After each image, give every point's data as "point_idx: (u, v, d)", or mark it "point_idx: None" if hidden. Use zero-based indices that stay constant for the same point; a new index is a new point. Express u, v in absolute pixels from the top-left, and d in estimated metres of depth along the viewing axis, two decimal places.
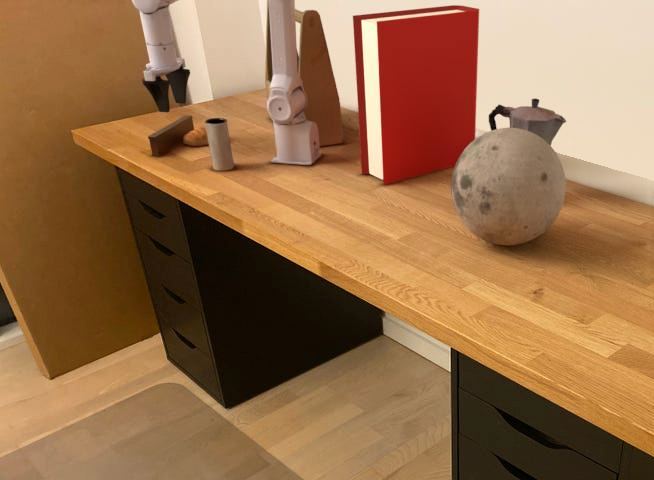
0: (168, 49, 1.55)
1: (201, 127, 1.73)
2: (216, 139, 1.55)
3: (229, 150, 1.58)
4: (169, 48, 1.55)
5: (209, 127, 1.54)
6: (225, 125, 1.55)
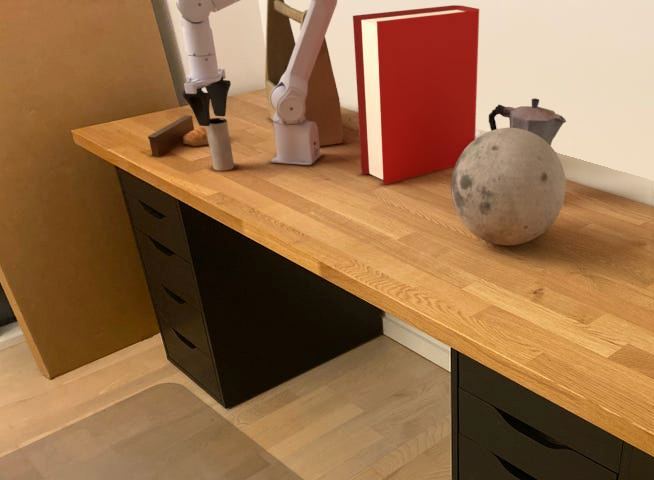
0: (210, 60, 1.47)
1: (201, 127, 1.73)
2: (216, 139, 1.55)
3: (229, 150, 1.58)
4: (211, 59, 1.47)
5: (209, 127, 1.54)
6: (225, 125, 1.55)
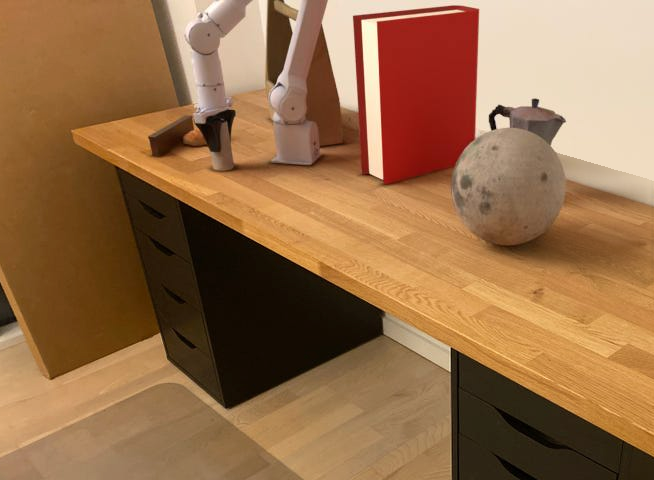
0: (218, 90, 1.50)
1: None
2: None
3: (229, 150, 1.58)
4: (219, 89, 1.50)
5: None
6: (225, 125, 1.55)
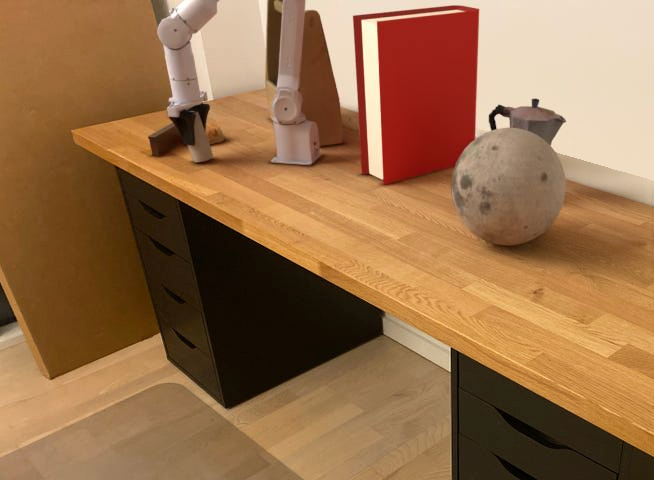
0: (192, 84, 1.53)
1: None
2: None
3: (205, 140, 1.61)
4: (193, 83, 1.53)
5: None
6: (196, 115, 1.58)
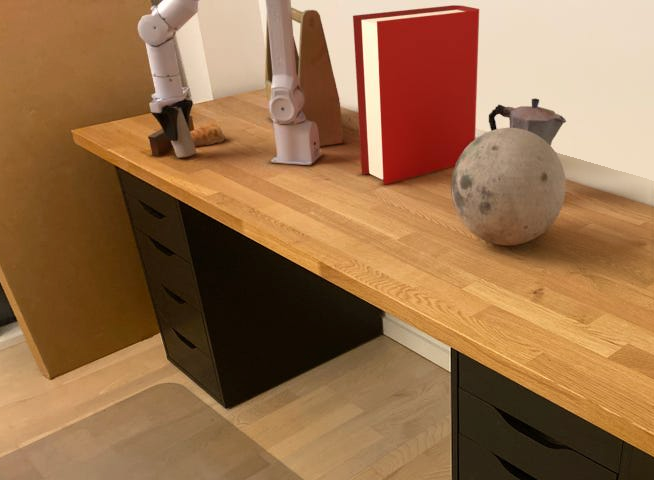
0: (174, 80, 1.56)
1: (201, 127, 1.73)
2: None
3: (188, 136, 1.63)
4: (175, 79, 1.56)
5: None
6: (179, 111, 1.60)
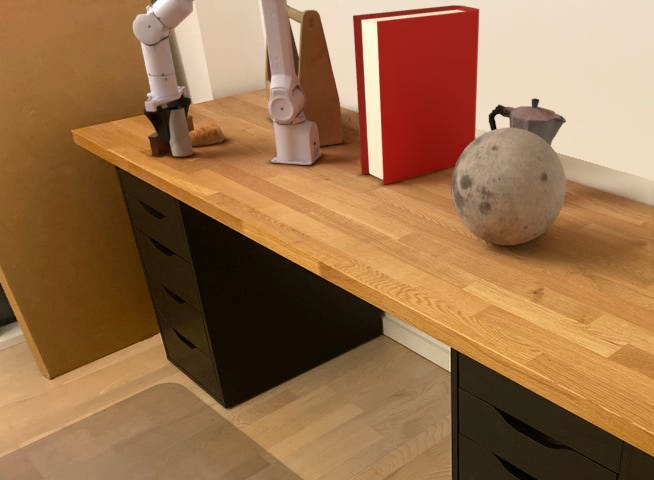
0: (169, 79, 1.56)
1: (201, 127, 1.73)
2: (173, 125, 1.61)
3: (186, 136, 1.64)
4: (170, 78, 1.56)
5: None
6: (181, 111, 1.61)
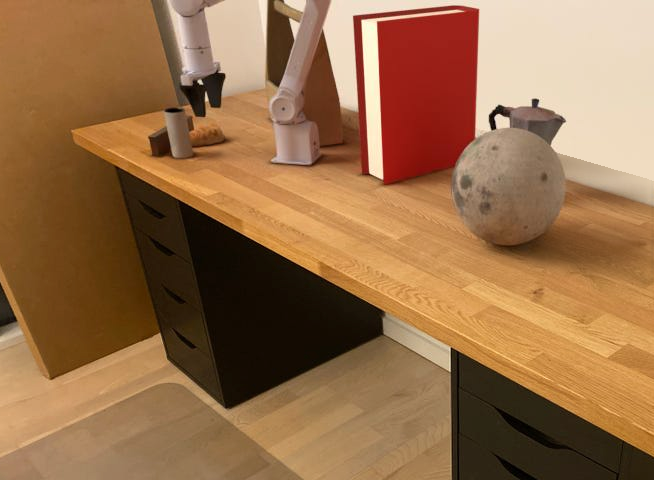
0: (205, 53, 1.52)
1: (201, 127, 1.73)
2: (174, 127, 1.61)
3: (187, 138, 1.64)
4: (206, 52, 1.52)
5: (167, 116, 1.60)
6: (183, 114, 1.61)
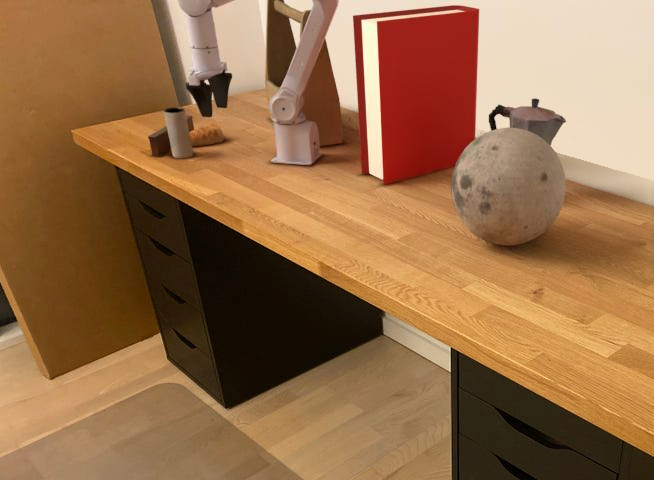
0: (212, 53, 1.52)
1: (201, 127, 1.73)
2: (174, 127, 1.61)
3: (187, 138, 1.64)
4: (213, 52, 1.52)
5: (167, 116, 1.60)
6: (183, 114, 1.61)
